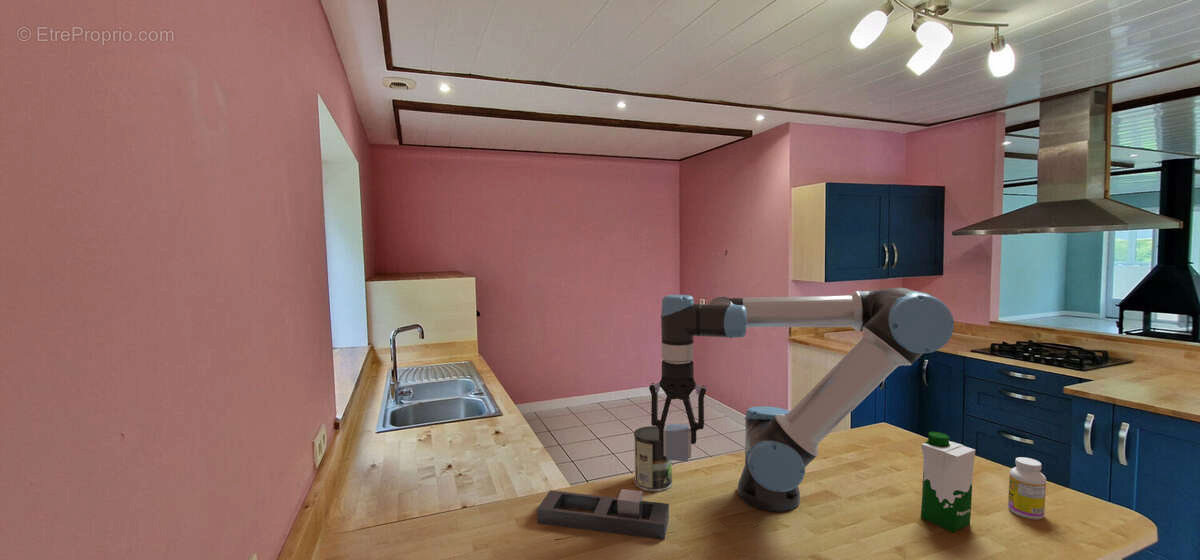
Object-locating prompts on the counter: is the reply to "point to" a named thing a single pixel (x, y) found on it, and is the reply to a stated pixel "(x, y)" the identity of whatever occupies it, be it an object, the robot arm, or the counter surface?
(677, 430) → the blue-grey rectangular block
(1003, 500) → the counter surface
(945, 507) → the milk carton
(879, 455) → the counter surface
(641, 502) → the pale wooden cube
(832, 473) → the counter surface
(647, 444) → the coffee can
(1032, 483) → the supplement bottle
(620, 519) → the dark grey compartment tray
